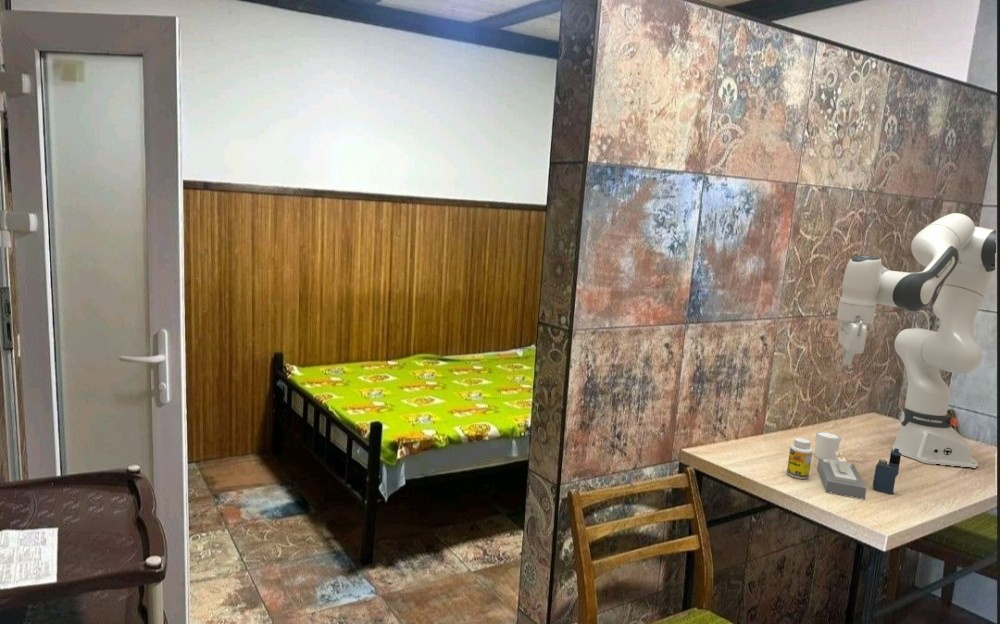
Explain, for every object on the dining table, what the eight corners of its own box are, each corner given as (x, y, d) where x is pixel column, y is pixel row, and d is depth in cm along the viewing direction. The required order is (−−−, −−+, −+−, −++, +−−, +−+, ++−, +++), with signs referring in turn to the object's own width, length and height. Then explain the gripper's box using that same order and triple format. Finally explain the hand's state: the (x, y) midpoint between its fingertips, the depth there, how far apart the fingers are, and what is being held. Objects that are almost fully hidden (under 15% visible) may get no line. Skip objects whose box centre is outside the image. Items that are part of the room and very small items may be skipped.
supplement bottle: (781, 472, 182) (787, 437, 181) (796, 470, 185) (801, 436, 183) (798, 480, 177) (803, 444, 176) (813, 478, 179) (818, 442, 178)
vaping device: (894, 495, 172) (902, 451, 170) (871, 489, 174) (879, 446, 173) (894, 492, 174) (902, 448, 172) (872, 486, 177) (879, 444, 175)
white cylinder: (840, 463, 194) (844, 440, 193) (815, 459, 195) (819, 437, 194) (834, 455, 200) (837, 433, 199) (810, 452, 202) (813, 430, 201)
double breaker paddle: (842, 461, 180) (841, 450, 180) (847, 472, 173) (846, 460, 173) (836, 462, 181) (834, 451, 181) (841, 472, 173) (839, 460, 173)
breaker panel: (852, 474, 185) (854, 461, 184) (864, 499, 168) (867, 484, 167) (817, 468, 187) (819, 455, 187) (825, 492, 171) (828, 477, 170)
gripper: (875, 320, 168) (866, 373, 170) (862, 312, 187) (853, 360, 189) (848, 317, 170) (839, 369, 172) (837, 309, 190) (829, 356, 191)
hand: (846, 364), depth 181 cm, fingers closed
